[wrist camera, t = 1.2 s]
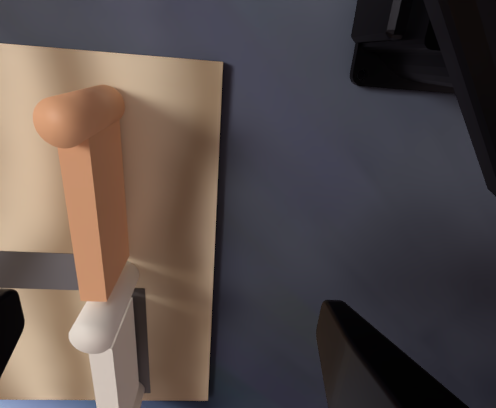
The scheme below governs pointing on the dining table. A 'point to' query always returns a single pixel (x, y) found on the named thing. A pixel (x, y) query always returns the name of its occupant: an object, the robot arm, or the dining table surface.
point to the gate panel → (90, 181)
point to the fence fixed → (112, 344)
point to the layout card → (138, 218)
